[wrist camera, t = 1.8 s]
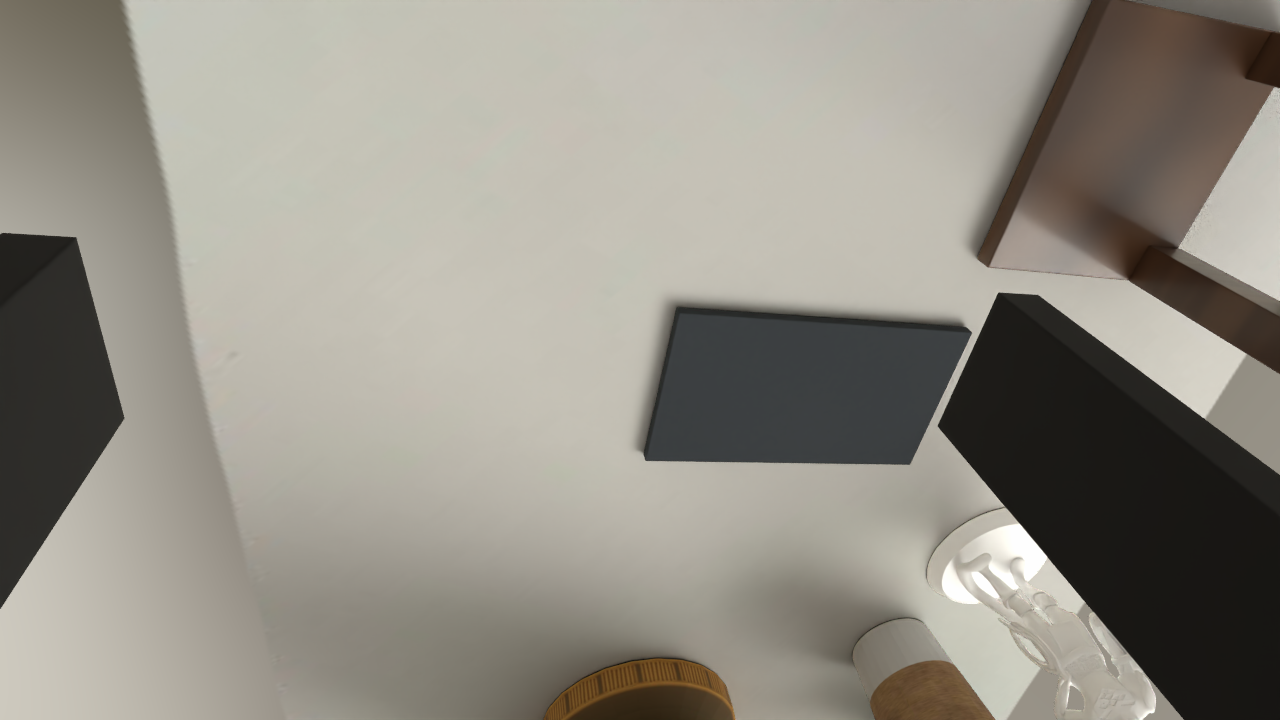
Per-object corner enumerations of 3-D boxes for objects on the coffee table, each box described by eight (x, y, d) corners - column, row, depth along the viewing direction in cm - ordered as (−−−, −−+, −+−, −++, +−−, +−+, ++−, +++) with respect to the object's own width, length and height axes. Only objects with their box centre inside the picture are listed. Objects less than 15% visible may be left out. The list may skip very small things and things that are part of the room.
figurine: (1054, 491, 48) (1257, 705, 35) (1044, 575, 53) (1218, 789, 40) (925, 532, 47) (1083, 761, 35) (927, 613, 52) (1066, 839, 40)
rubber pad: (643, 454, 39) (645, 461, 39) (676, 306, 35) (679, 312, 34) (905, 458, 43) (910, 465, 43) (966, 326, 39) (972, 332, 38)
